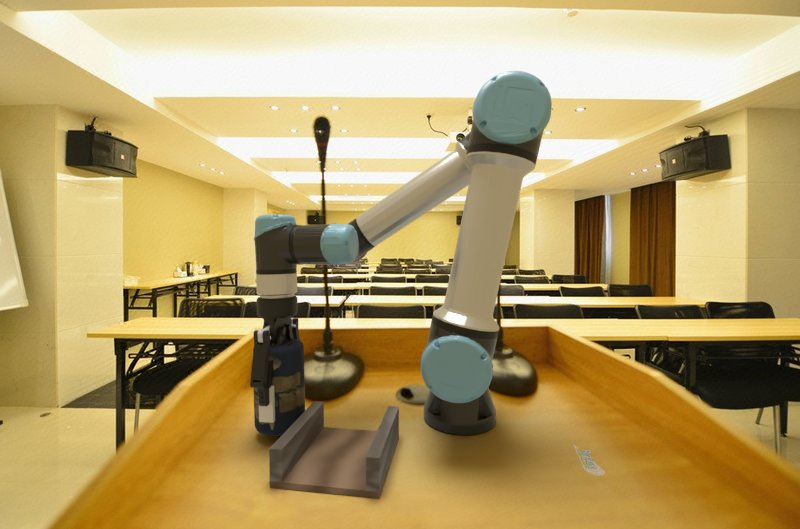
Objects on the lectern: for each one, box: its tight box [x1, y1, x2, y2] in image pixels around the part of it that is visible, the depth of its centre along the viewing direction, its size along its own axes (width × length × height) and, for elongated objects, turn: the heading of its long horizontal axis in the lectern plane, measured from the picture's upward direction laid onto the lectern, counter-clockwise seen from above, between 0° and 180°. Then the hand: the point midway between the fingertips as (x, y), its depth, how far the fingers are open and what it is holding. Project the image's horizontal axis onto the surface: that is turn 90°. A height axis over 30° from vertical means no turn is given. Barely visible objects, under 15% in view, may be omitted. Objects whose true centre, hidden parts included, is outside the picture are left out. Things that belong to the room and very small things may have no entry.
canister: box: [252, 339, 306, 437], centre depth 74 cm, size 10×10×18 cm
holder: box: [268, 400, 400, 499], centre depth 65 cm, size 17×18×6 cm
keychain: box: [573, 444, 605, 477], centre depth 66 cm, size 10×1×3 cm
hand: (280, 409), depth 74 cm, fingers closed on canister, 9 cm apart
